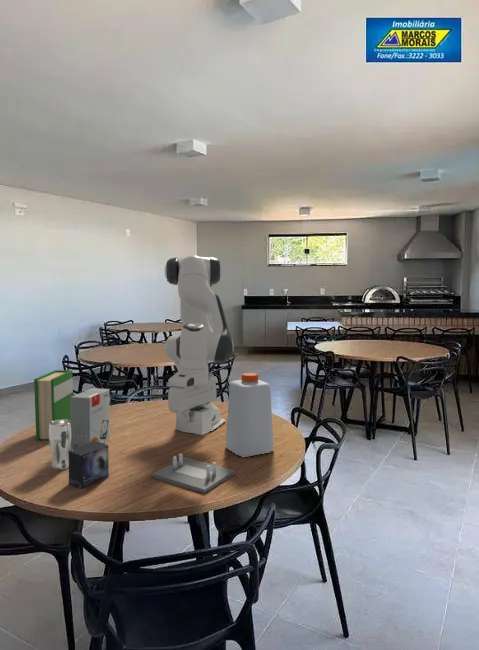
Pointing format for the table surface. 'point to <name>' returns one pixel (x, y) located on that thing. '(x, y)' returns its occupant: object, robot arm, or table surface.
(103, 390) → the hard drive box
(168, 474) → the tray
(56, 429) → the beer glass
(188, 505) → the table surface
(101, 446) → the small box
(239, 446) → the plastic bottle
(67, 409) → the hardback book
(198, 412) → the block
